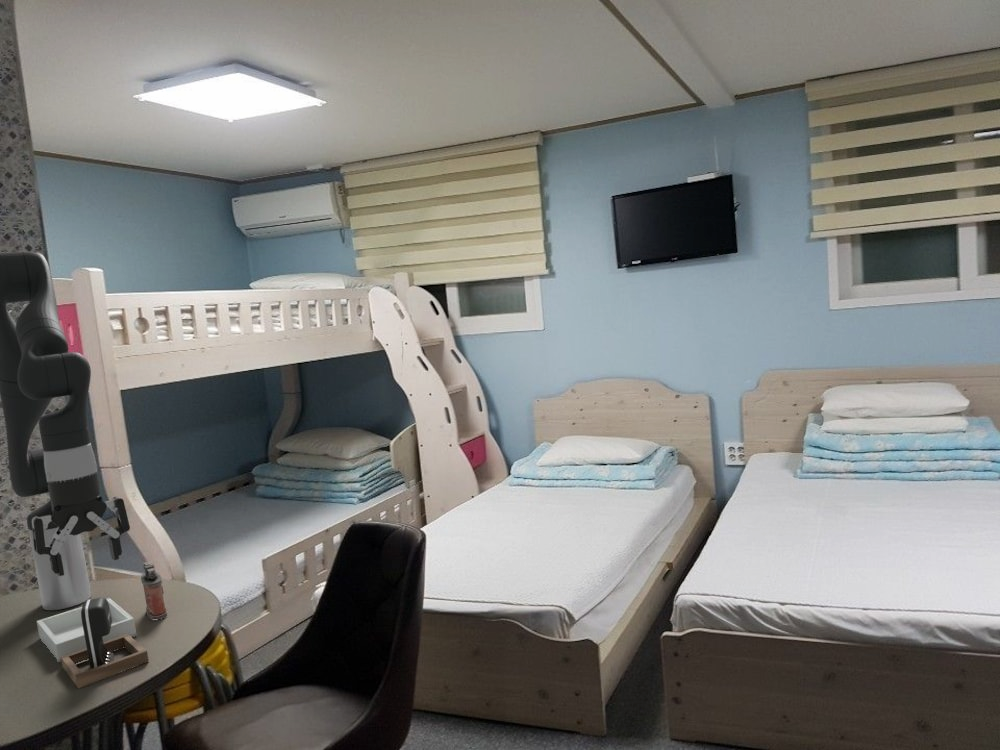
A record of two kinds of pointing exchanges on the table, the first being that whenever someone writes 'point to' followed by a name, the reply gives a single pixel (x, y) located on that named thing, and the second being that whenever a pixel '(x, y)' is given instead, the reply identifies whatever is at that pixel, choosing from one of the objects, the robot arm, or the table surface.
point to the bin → (80, 630)
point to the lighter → (153, 592)
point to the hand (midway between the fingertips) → (88, 566)
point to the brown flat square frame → (107, 669)
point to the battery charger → (96, 630)
